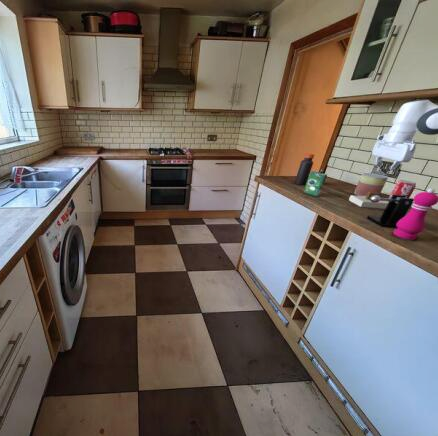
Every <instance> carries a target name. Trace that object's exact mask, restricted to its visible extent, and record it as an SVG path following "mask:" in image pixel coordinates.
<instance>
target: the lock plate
mask: <svg viewBox="0 0 438 436" xmlns="http://www.w3.org/2000/svg"><path fill="white" fill-rule="evenodd" d="M365 197H366V196H359V195H356V194H354V195H353V194H352V195H351V194H350V196H349V199H348V201H349V202H351V203H353V204H355V205H357V206H358V207H360V208H369V209H370V208H371V209H384V210H385V208H386V207H387V205H388V203H389V202H388V201H379V202H371V201H370V199H365Z"/></svg>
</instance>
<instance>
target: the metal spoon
mask: <svg viewBox="0 0 438 436" xmlns="http://www.w3.org/2000/svg"><path fill="white" fill-rule="evenodd" d="M400 198H404V197H397V198H396V199H391V198H389V197H381V195H380V196H378V195H373V196H371V197H370V201H371V202H379V201H392V202H395V203H398V201H399V200H400Z"/></svg>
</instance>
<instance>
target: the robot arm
mask: <svg viewBox="0 0 438 436" xmlns="http://www.w3.org/2000/svg"><path fill="white" fill-rule="evenodd" d="M417 131H418V132H420V133H421V134H423V135H428V136H435V135H438V104H435V103H433V102H432V101H430V99H424V98H423V99H416V100H415V99H414V100H411V101H407V102H405V103H403V104H402V105H401V106H400V108H399V109H398V111H397V112H396V115H395V117H394V118H393V121H392V126H391V127H390V129H389V130H388V131H387V133H384V134H379V135H378V136H377V138H376V140H377V141H376V142H375V144H374V146H373V148H372V150H371V155H372V156H376V157H375V164H374V166H377V167H381V166H382V164H383V162H382V159H388V160H392V161H393V162H392V165H389V167H388V170H390V171H395V170H396V169H397V167H398V166H399V165H401V164H402V163H409V162H410V161H412V159H413V157H414V155H415V152H416V149H417V147H416V146H417V143H416V141H415V140H413V138H414V137H415V135H416V132H417Z"/></svg>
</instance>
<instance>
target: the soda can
mask: <svg viewBox="0 0 438 436" xmlns="http://www.w3.org/2000/svg"><path fill="white" fill-rule="evenodd" d="M416 186H417V182H416V181H411V180H405V179H399V180H398V181H397V182H396V183H395V185H394V187H393V189H392V191H391V193H390V195H389V197H388V198H391V197H392V195H393V194H394V195H405V196H406V197H405V198H411V196H412V194H413V192H414V191H415V188H416ZM388 202H389V201H388Z"/></svg>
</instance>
